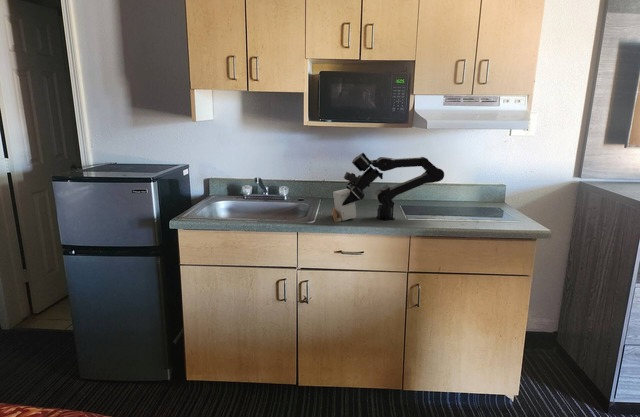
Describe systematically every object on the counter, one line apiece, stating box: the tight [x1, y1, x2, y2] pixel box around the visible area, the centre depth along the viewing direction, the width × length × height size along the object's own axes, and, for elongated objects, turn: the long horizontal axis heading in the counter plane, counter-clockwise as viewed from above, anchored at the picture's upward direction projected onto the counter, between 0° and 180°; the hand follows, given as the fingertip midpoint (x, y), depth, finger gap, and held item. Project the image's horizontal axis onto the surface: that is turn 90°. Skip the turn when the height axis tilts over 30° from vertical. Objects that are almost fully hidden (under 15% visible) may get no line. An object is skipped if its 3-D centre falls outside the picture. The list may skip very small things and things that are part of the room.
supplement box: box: [332, 188, 358, 222], centre depth 194 cm, size 7×7×13 cm
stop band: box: [332, 207, 342, 223], centre depth 196 cm, size 3×11×4 cm, turn 4°
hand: (341, 202), depth 194 cm, fingers open, 9 cm apart
